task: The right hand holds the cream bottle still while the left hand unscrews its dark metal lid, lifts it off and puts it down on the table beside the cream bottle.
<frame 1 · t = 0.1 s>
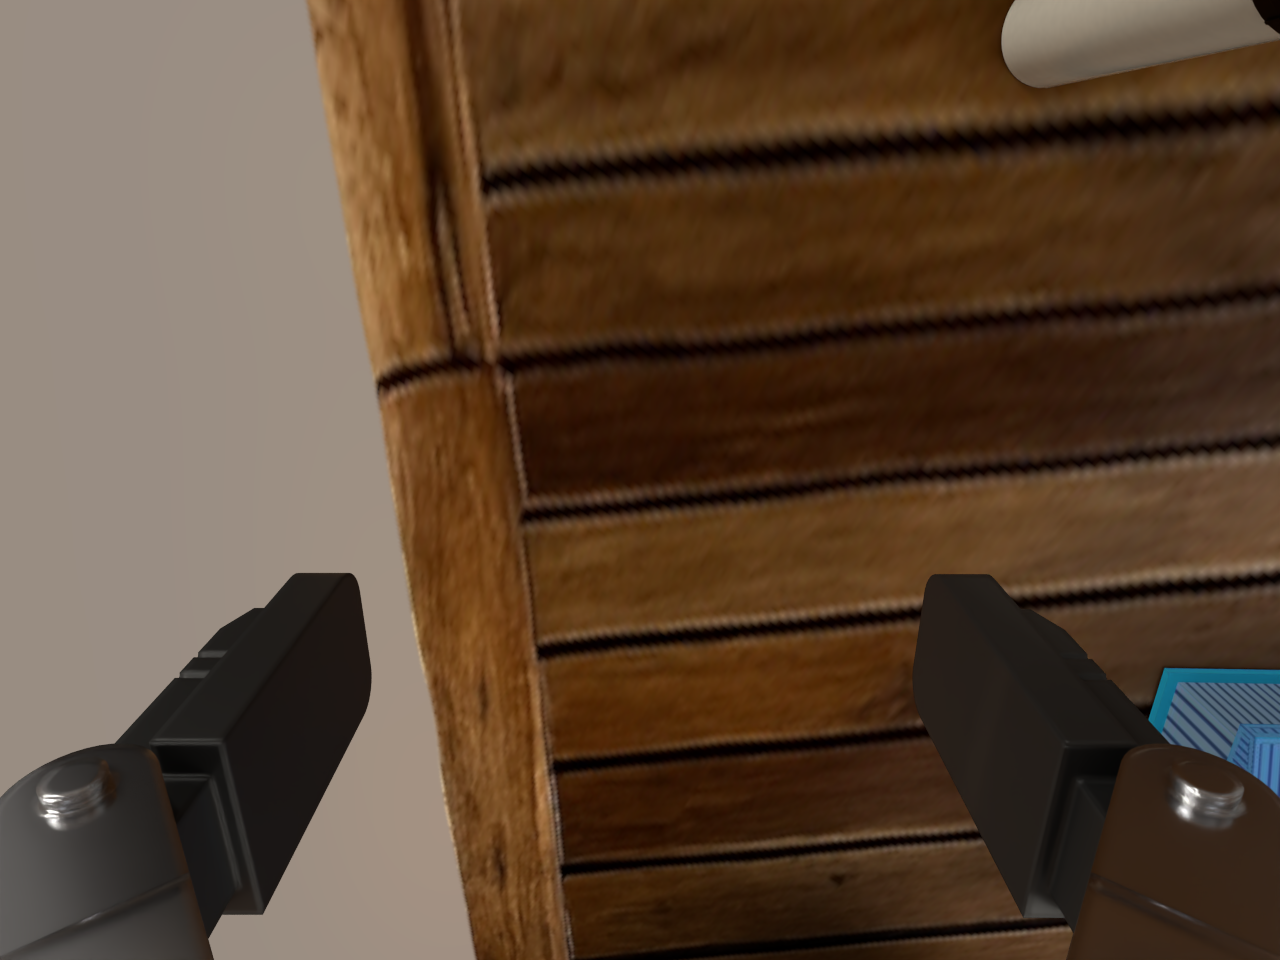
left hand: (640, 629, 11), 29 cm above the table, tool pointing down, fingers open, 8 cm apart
cream bottle: (1051, 32, 34), on the table
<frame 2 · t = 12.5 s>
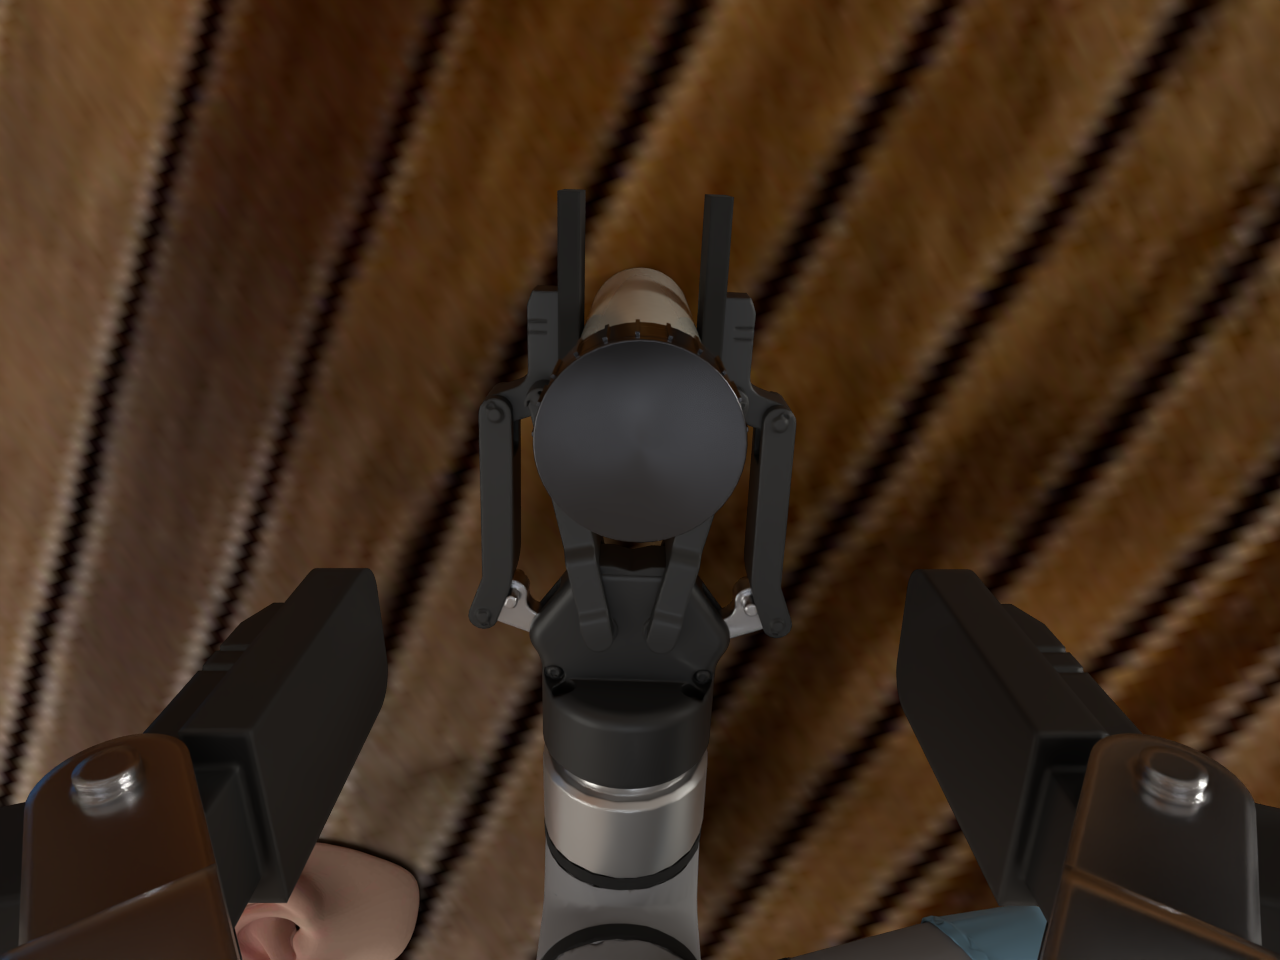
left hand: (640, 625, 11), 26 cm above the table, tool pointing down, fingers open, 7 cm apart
right hand: (645, 194, 27), fingers closed on cream bottle, 4 cm apart
cream bottle: (640, 317, 35), on the table, touching right hand
lid: (640, 441, 19), point 17 cm above the table, screwed on, not yet turned
anatomical model: (316, 909, 48), on the table
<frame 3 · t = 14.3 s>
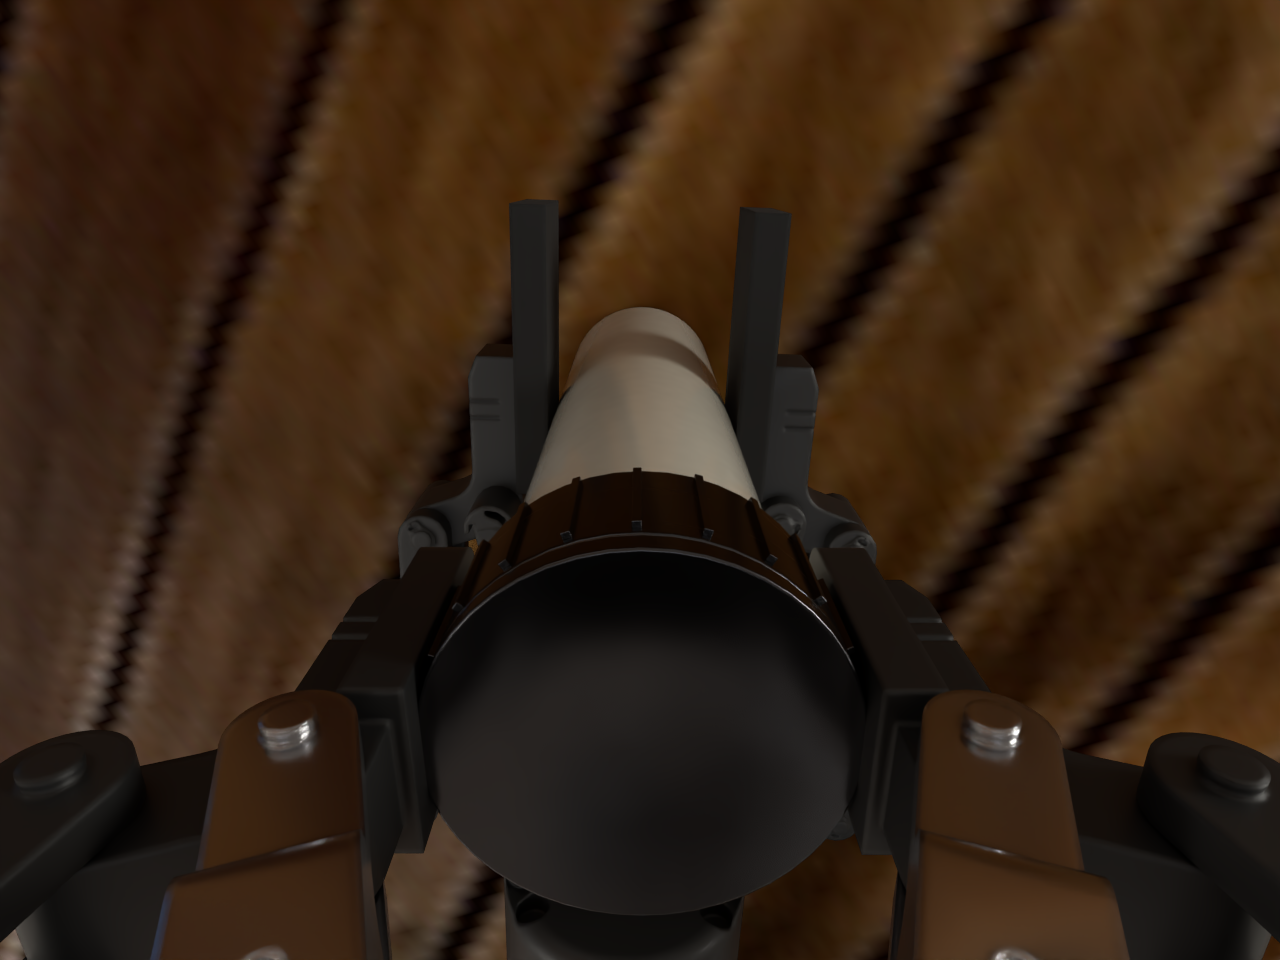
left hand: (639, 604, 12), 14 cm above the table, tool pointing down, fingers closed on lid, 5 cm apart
cream bottle: (641, 375, 25), on the table, touching right hand
lid: (641, 731, 9), point 17 cm above the table, screwed on, not yet turned, touching left hand
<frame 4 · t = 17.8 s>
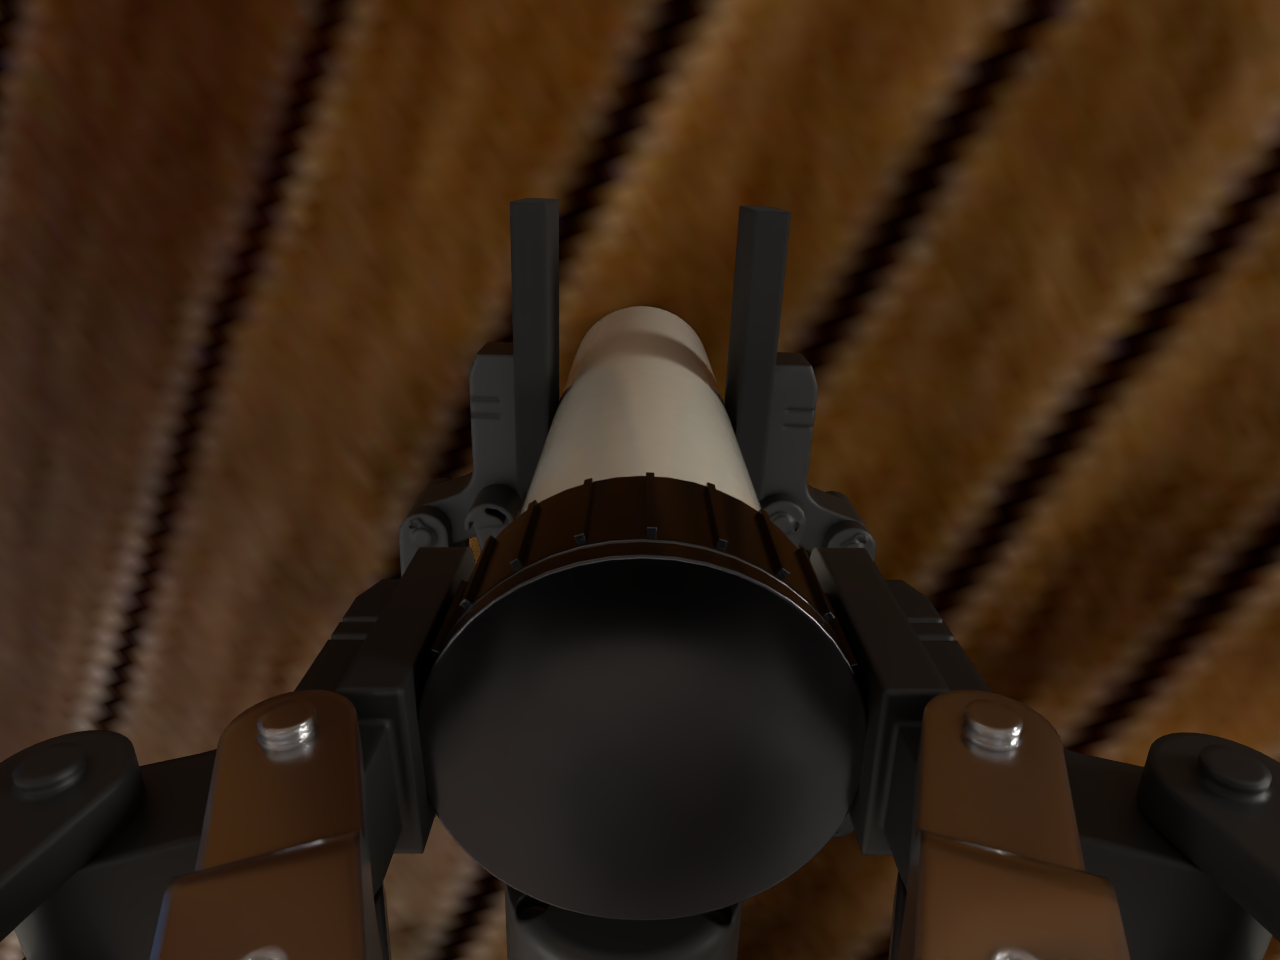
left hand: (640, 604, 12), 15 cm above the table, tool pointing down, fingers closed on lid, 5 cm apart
cream bottle: (641, 374, 25), on the table, touching right hand
lid: (641, 737, 9), point 17 cm above the table, turned 82° so far, risen 0.1 cm, still on its thread, touching left hand
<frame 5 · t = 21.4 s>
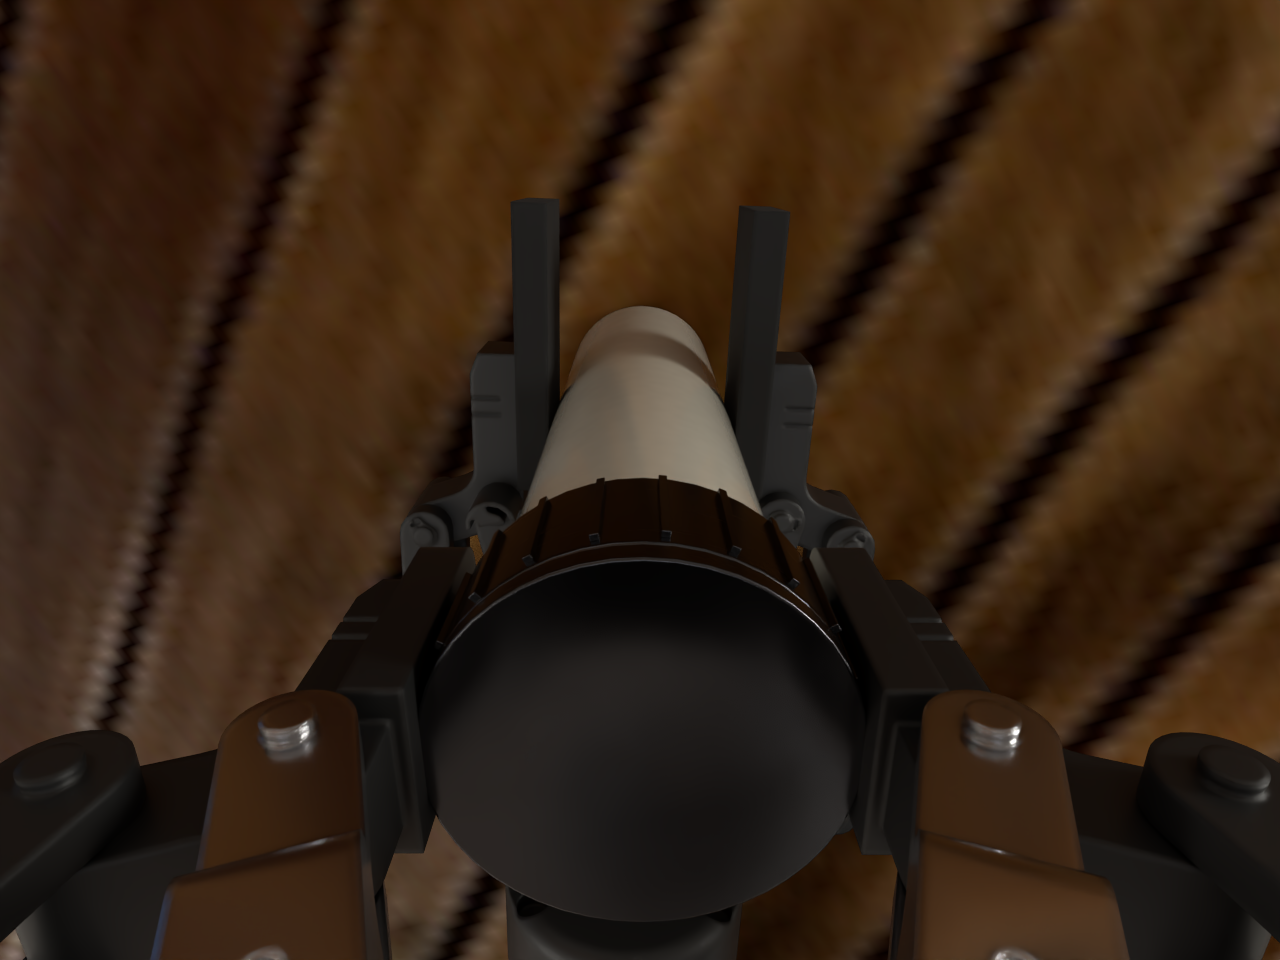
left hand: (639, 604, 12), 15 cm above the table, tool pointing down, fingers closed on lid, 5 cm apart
cream bottle: (641, 373, 25), on the table, touching right hand
lid: (641, 739, 9), point 18 cm above the table, turned 164° so far, risen 0.2 cm, still on its thread, touching left hand
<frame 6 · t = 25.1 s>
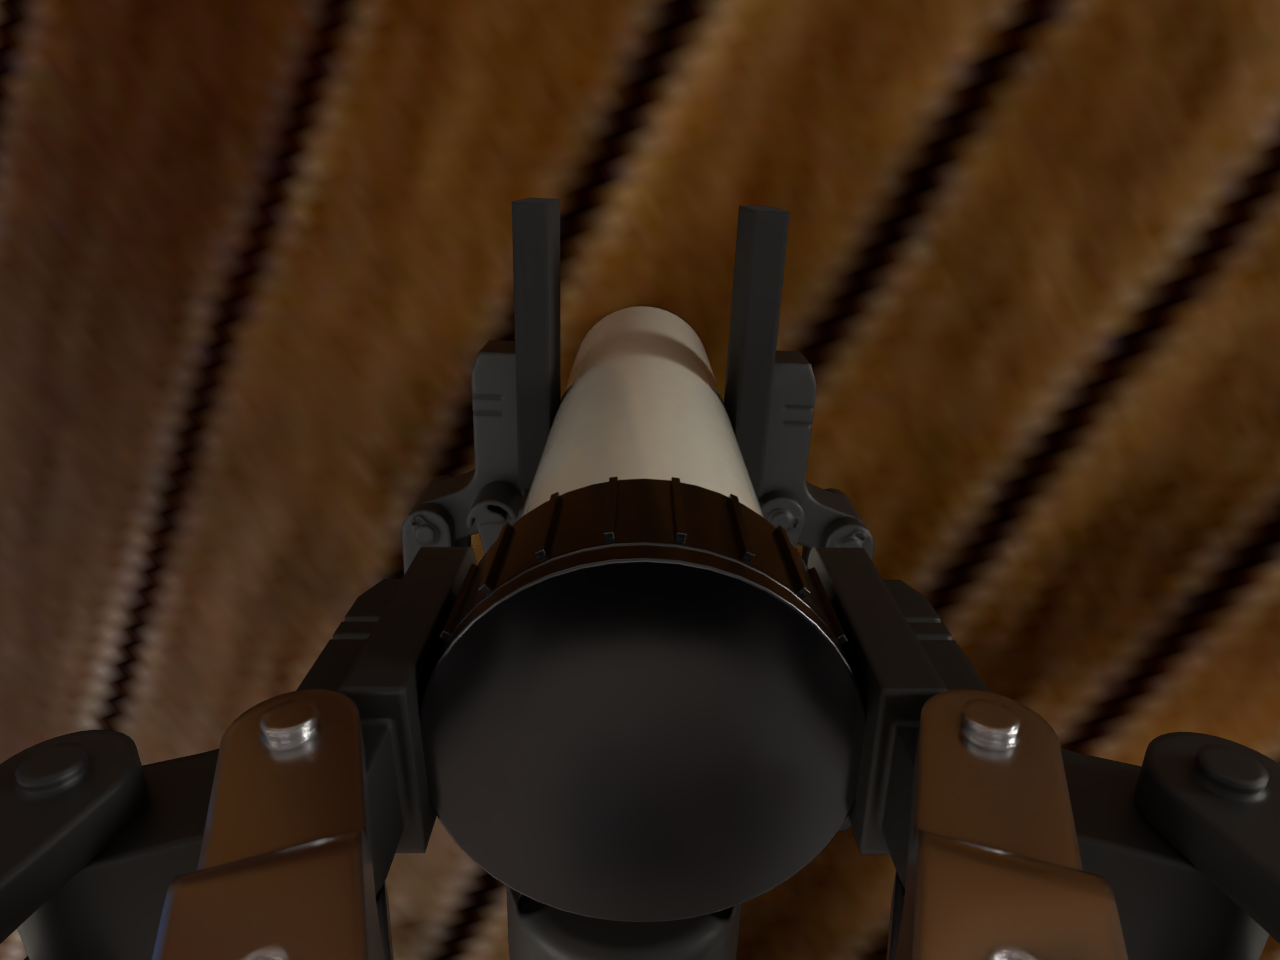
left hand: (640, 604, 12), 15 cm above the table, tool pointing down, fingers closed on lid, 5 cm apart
cream bottle: (641, 373, 26), on the table, touching right hand
lid: (642, 739, 9), point 18 cm above the table, turned 247° so far, risen 0.3 cm, still on its thread, touching left hand
when the left hand's fingers open (0 cm above the table, at t = 40.2 s): lid drops 1 cm, point 2 cm above the table.
when the right hand's fingers open (6 cm above the table, at t = 41.1 s): cream bottle stays where it is, on the table.
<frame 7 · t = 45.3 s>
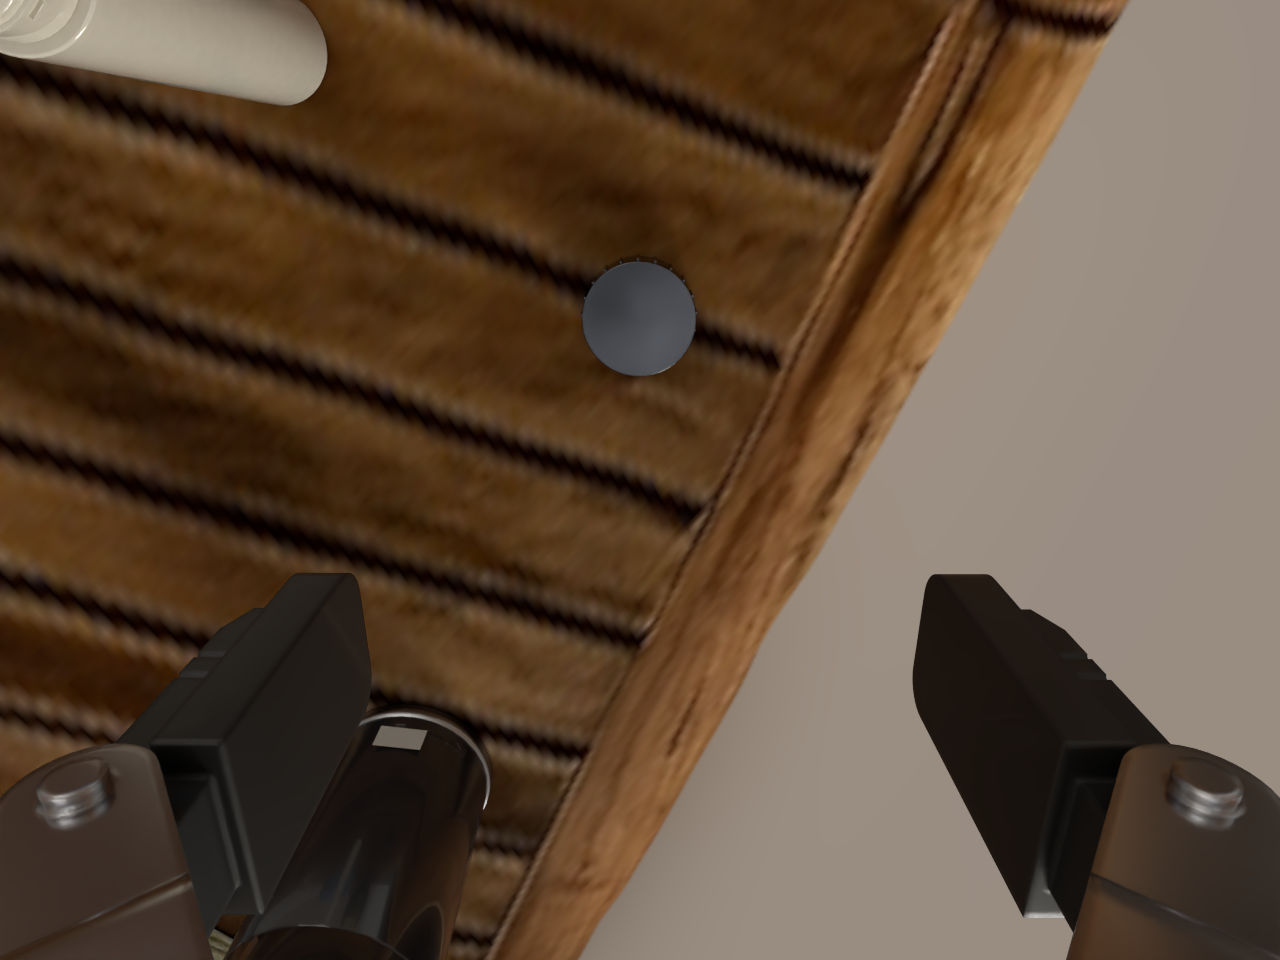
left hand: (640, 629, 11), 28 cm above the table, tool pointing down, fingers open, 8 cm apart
cream bottle: (275, 48, 33), on the table
lid: (639, 319, 35), point 2 cm above the table, off its thread
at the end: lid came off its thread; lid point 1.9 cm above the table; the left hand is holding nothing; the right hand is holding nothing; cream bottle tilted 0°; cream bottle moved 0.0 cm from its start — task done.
